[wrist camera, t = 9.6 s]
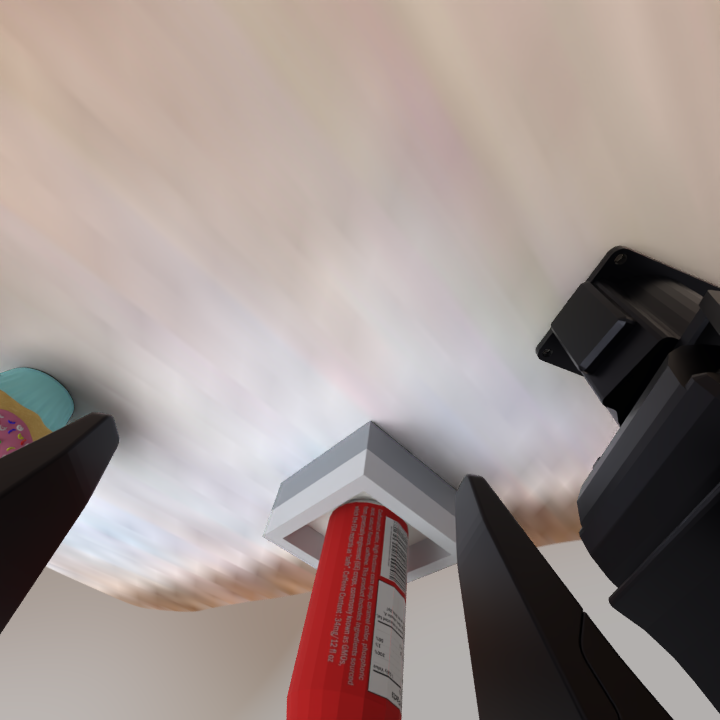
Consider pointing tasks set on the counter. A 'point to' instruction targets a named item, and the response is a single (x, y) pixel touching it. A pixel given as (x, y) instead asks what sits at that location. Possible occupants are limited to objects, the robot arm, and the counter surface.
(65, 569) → the counter surface
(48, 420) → the cupcake
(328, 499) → the socket block
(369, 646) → the soda can
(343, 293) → the counter surface
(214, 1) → the counter surface
